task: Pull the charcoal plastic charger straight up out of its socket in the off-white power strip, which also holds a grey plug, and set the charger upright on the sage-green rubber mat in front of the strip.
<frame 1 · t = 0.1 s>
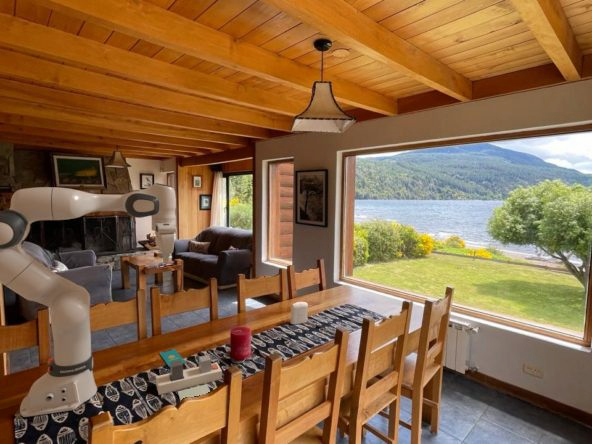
hand: (163, 260, 133), 48 cm above the table, fingers open, 8 cm apart
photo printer: (298, 322, 196), on the table
teal passport: (172, 359, 151), on the table
mat: (194, 393, 127), on the table
power strip: (189, 381, 134), on the table
charger: (176, 385, 132), resting in power strip
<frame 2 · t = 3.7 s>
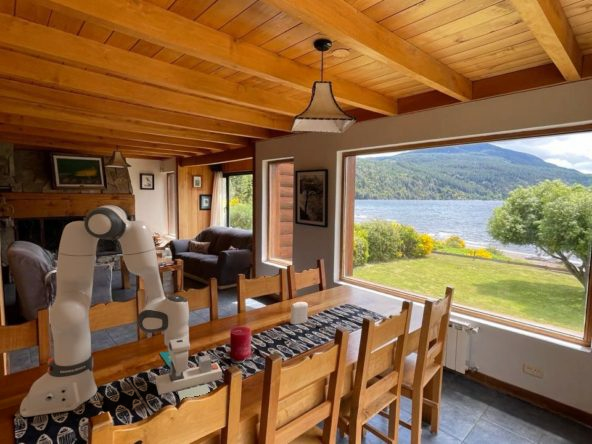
hand: (176, 371, 131), 6 cm above the table, fingers closed on charger, 4 cm apart
charger: (176, 385, 132), resting in power strip, touching gripper
everything else where it was.
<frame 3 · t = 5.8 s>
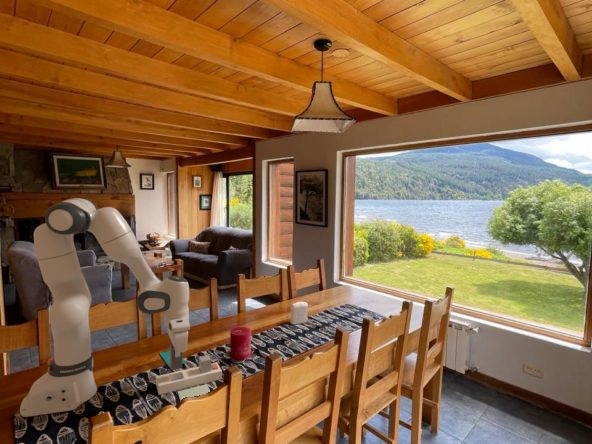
hand: (175, 352, 130), 13 cm above the table, fingers closed on charger, 4 cm apart
charger: (175, 366, 131), point 8 cm above the table, touching gripper
everything else where it was.
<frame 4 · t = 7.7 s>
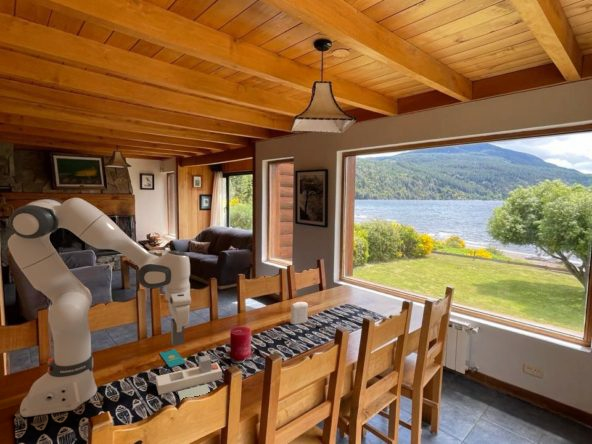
hand: (177, 328, 129), 23 cm above the table, fingers closed on charger, 4 cm apart
charger: (177, 342, 130), point 18 cm above the table, touching gripper
everything else where it was.
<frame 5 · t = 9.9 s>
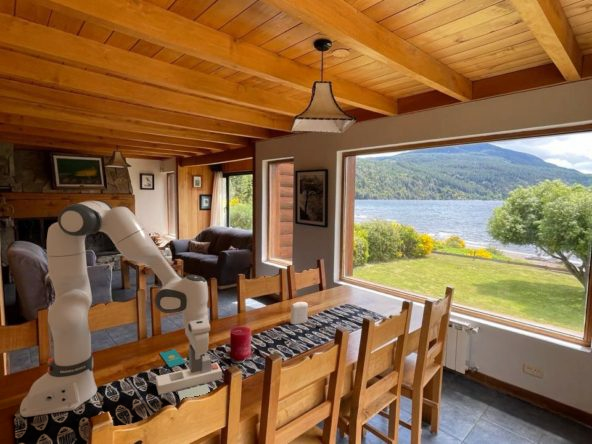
hand: (195, 355, 125), 15 cm above the table, fingers closed on charger, 4 cm apart
charger: (195, 369, 126), point 10 cm above the table, touching gripper
everything else where it was.
when the fingers open (7 cm above the table, at t = 11.7 s): charger drops 1 cm, resting on mat.
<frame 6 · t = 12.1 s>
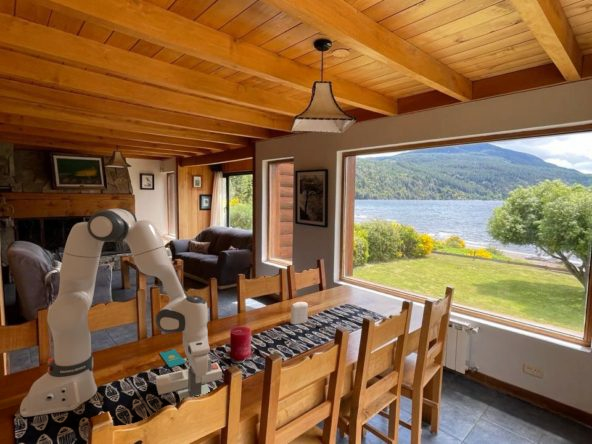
hand: (194, 375, 126), 7 cm above the table, fingers open, 8 cm apart
charger: (194, 392, 127), resting on mat
everything else where it was.
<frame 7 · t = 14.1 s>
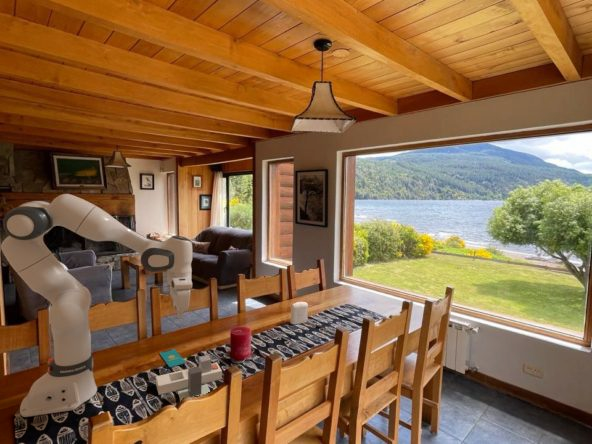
hand: (177, 313, 130), 28 cm above the table, fingers open, 8 cm apart
nothing on the table moved.
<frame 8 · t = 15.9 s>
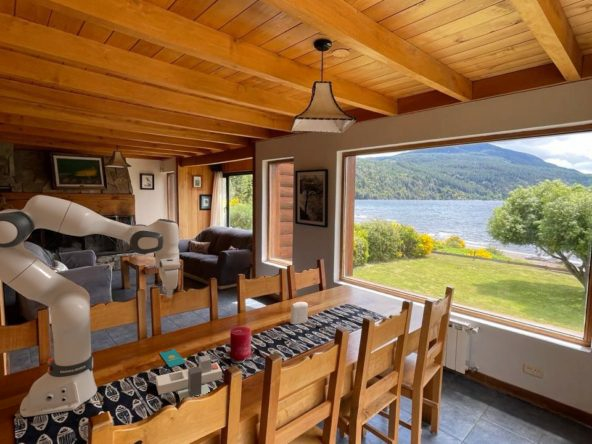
hand: (167, 293, 135), 34 cm above the table, fingers open, 8 cm apart
nothing on the table moved.
at the end: charger inside the target area (0.0 cm from its centre), resting on mat; charger tilted 0°; the gripper is holding nothing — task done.
